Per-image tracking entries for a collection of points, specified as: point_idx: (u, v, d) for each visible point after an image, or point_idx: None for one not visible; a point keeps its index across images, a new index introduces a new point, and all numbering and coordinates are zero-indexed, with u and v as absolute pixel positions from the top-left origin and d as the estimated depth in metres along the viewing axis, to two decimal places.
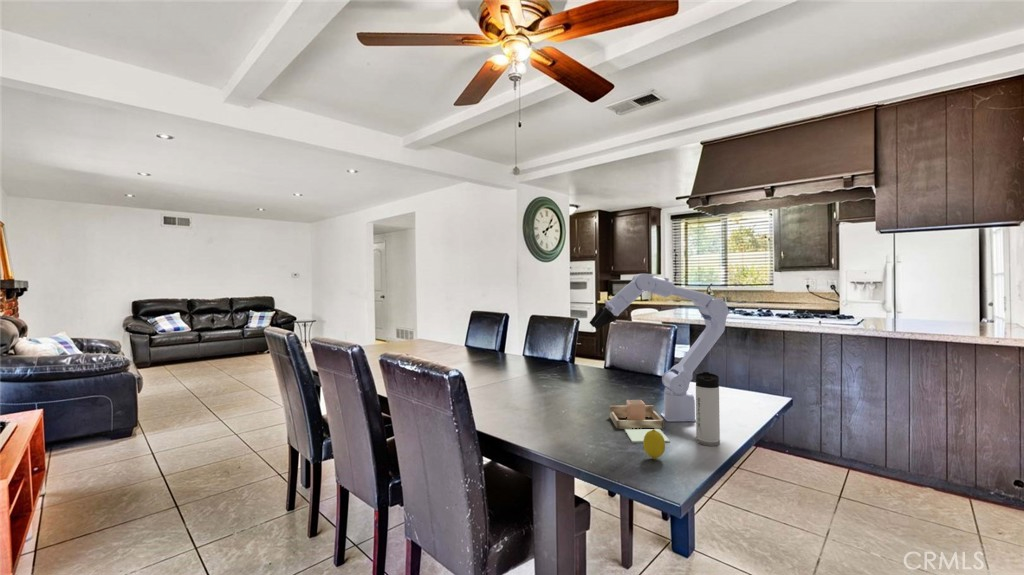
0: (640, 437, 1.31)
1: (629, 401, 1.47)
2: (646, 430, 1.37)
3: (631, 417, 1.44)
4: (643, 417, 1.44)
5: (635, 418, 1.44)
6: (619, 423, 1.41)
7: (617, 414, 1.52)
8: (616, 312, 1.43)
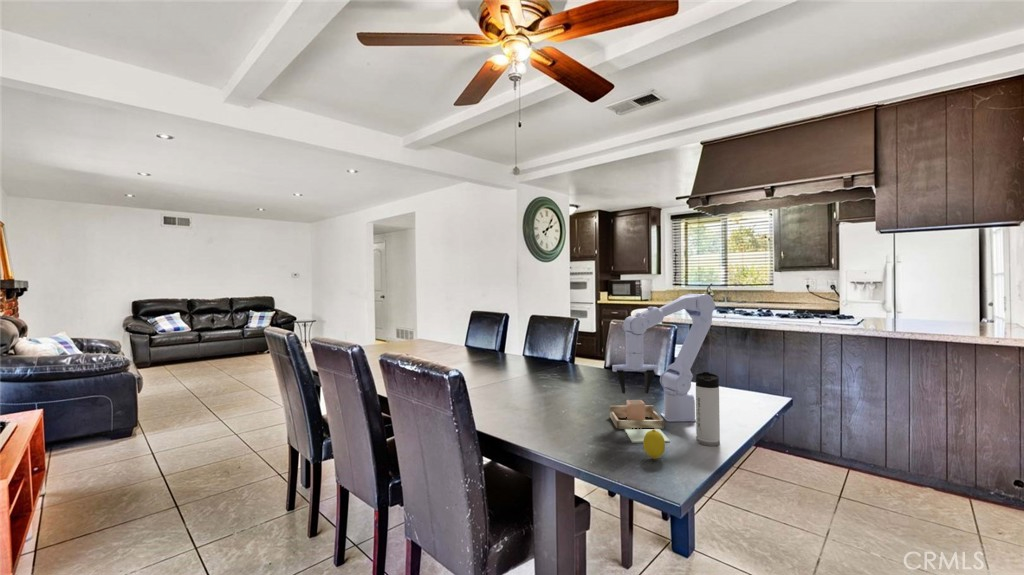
0: (640, 437, 1.31)
1: (629, 401, 1.47)
2: (646, 430, 1.37)
3: (631, 417, 1.44)
4: (643, 417, 1.44)
5: (635, 418, 1.44)
6: (619, 423, 1.41)
7: (617, 414, 1.52)
8: None
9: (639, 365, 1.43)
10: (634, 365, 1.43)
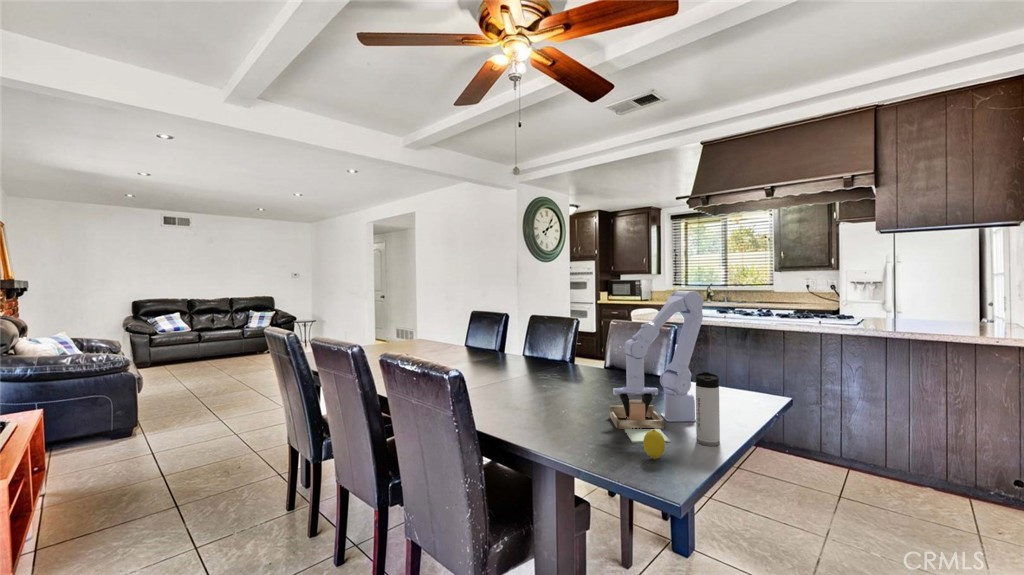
0: (640, 437, 1.31)
1: (629, 401, 1.47)
2: (646, 430, 1.37)
3: (631, 417, 1.44)
4: (643, 417, 1.44)
5: (635, 418, 1.44)
6: (619, 423, 1.41)
7: (617, 414, 1.52)
8: None
9: (640, 389, 1.44)
10: (635, 389, 1.43)
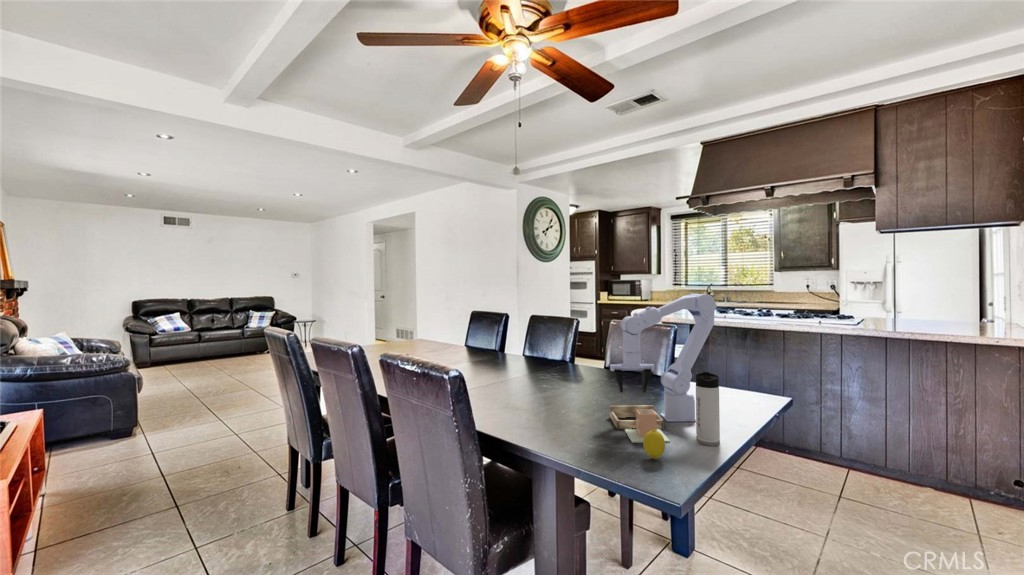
0: (640, 437, 1.31)
1: (639, 411, 1.34)
2: None
3: (641, 428, 1.31)
4: (654, 428, 1.31)
5: (645, 430, 1.31)
6: (619, 423, 1.41)
7: (617, 414, 1.52)
8: None
9: (636, 364, 1.45)
10: (632, 364, 1.45)
